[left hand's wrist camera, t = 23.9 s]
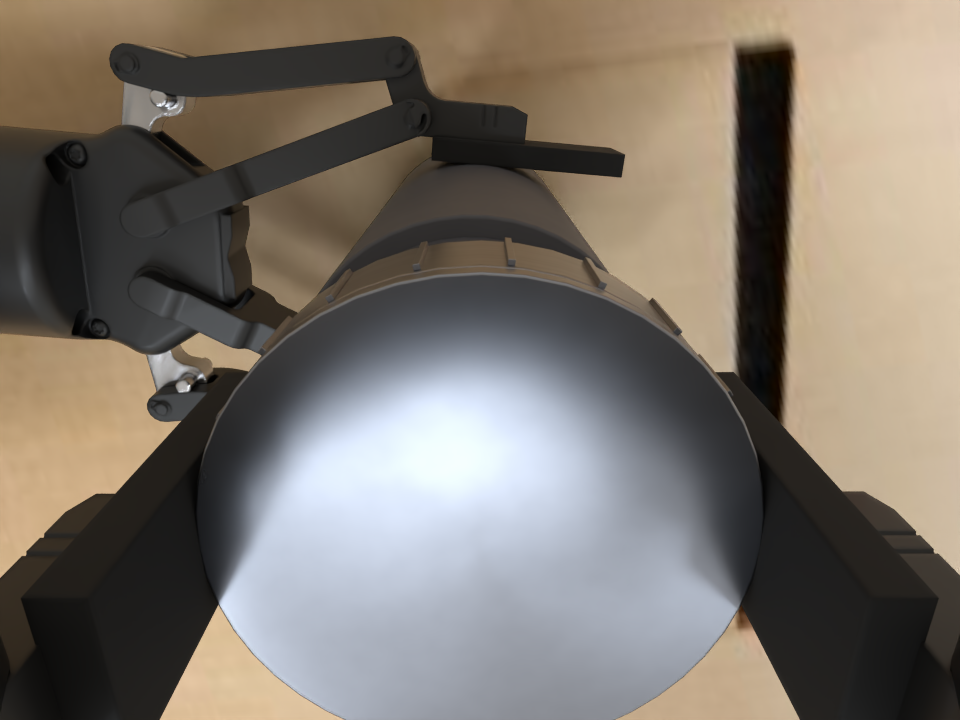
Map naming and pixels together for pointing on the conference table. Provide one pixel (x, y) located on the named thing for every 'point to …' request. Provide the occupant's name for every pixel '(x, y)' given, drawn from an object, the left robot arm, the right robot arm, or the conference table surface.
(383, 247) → the jar
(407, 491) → the lid
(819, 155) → the conference table surface
